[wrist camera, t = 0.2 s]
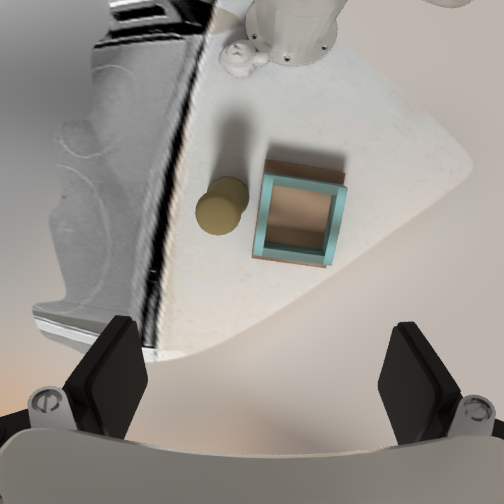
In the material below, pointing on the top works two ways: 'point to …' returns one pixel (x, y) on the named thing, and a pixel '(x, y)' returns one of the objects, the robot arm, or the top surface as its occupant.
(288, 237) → the board
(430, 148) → the top surface
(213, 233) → the cork
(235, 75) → the rubber duck
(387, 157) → the top surface
